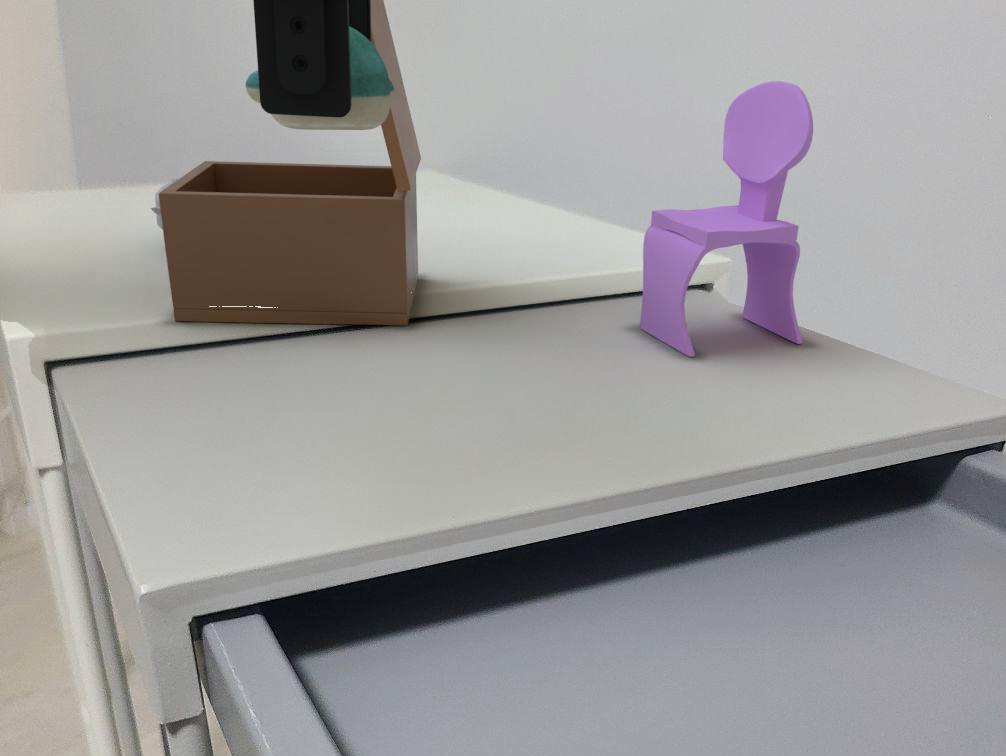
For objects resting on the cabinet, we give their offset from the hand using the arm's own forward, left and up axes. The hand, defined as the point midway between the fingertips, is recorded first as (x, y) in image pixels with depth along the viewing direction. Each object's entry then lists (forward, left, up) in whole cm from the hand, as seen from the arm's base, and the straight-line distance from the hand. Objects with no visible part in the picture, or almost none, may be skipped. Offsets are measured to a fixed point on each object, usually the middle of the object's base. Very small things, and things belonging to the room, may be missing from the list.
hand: (321, 97), depth 42 cm
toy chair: (+21, +20, -16) cm, 33 cm away
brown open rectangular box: (-6, +27, -16) cm, 31 cm away
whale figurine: (0, 0, -1) cm, 1 cm away
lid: (0, +27, 0) cm, 27 cm away
